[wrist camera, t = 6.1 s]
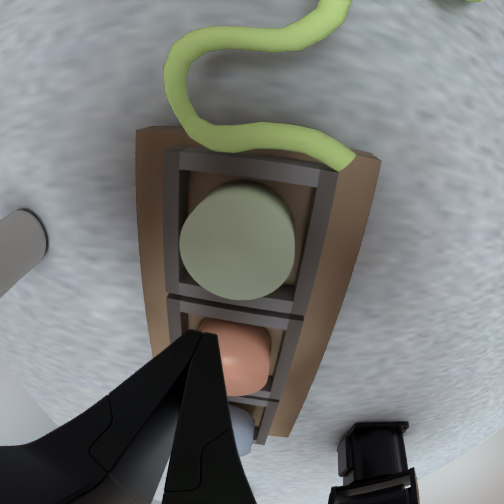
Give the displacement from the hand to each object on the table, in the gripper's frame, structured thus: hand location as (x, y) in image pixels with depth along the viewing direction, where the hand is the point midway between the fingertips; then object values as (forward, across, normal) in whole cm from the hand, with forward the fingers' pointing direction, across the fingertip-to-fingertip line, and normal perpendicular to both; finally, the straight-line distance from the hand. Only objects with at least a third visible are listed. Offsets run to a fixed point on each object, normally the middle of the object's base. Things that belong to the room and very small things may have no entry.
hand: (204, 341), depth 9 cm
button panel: (+10, 0, +8) cm, 13 cm away
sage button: (+8, 0, 0) cm, 8 cm away
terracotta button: (+8, 0, +8) cm, 11 cm away
